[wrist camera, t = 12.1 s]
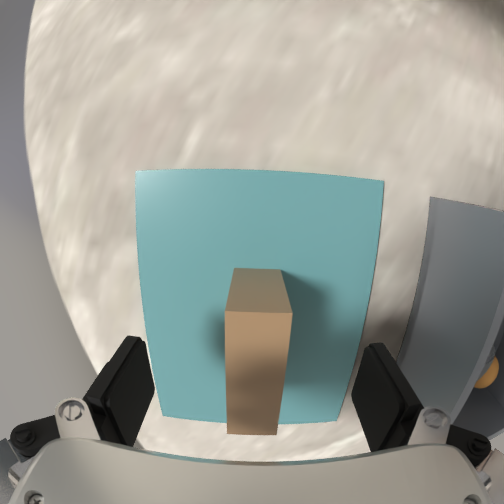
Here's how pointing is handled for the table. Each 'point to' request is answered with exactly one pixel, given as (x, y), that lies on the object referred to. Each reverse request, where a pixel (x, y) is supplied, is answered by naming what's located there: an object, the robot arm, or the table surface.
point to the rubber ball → (488, 375)
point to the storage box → (459, 316)
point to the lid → (254, 291)
